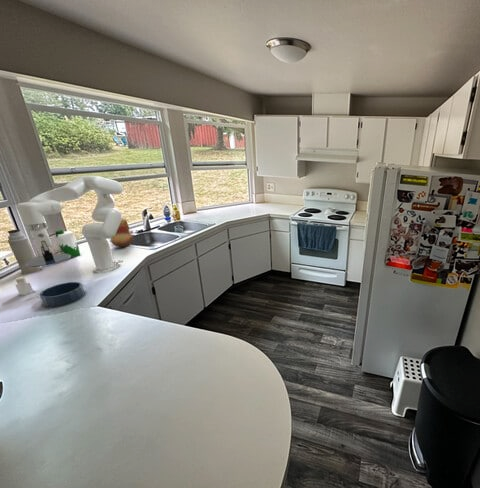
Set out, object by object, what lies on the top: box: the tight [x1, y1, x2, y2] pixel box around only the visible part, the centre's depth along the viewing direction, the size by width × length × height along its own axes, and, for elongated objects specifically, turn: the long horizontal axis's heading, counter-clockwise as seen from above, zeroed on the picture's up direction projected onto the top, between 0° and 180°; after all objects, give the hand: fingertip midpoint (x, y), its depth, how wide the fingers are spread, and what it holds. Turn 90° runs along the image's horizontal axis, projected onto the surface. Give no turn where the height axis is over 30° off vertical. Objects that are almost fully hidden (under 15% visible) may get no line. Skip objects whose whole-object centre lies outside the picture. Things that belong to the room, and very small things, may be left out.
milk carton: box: [54, 229, 81, 259], centre depth 182 cm, size 9×9×20 cm
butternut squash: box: [110, 216, 134, 248], centre depth 200 cm, size 14×13×25 cm
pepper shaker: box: [14, 276, 34, 296], centre depth 136 cm, size 4×4×10 cm
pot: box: [38, 281, 86, 308], centre depth 132 cm, size 16×16×6 cm
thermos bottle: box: [7, 228, 41, 275], centre depth 156 cm, size 8×8×28 cm
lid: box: [26, 249, 72, 267], centre depth 133 cm, size 17×17×7 cm
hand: (49, 259), depth 134 cm, fingers closed on lid, 3 cm apart
